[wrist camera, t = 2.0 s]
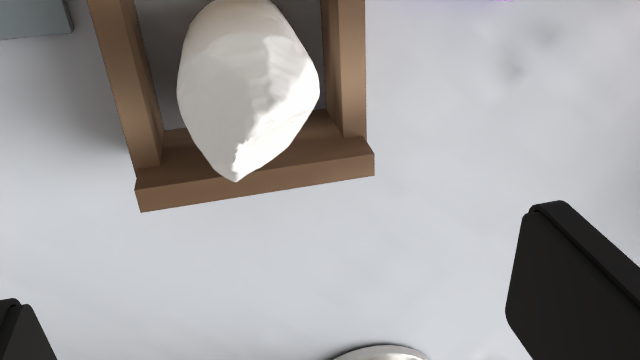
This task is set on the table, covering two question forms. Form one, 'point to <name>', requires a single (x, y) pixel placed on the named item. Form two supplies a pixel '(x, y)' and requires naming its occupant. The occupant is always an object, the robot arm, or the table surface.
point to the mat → (33, 18)
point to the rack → (186, 158)
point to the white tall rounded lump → (244, 84)
